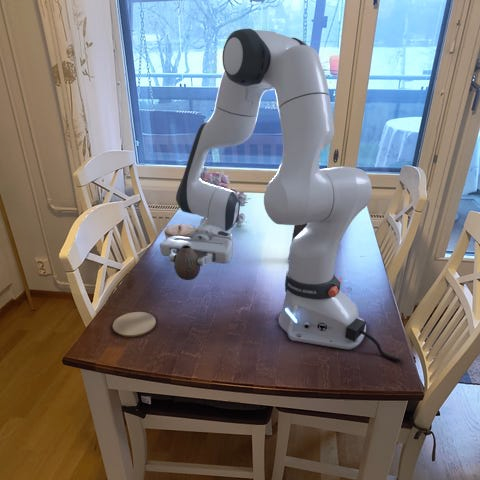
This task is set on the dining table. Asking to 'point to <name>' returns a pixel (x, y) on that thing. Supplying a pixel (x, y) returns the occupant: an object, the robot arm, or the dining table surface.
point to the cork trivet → (134, 324)
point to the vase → (186, 263)
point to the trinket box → (179, 230)
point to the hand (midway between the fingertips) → (185, 261)
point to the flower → (222, 182)
